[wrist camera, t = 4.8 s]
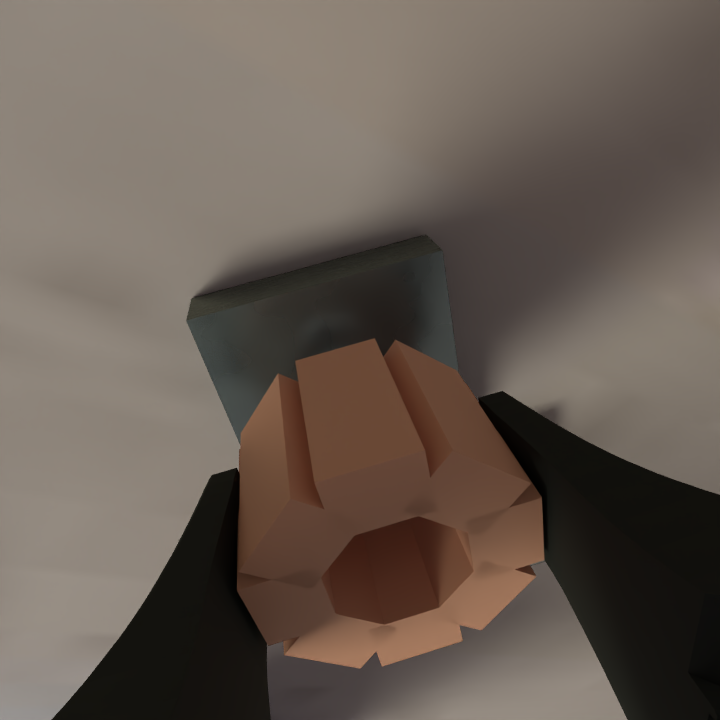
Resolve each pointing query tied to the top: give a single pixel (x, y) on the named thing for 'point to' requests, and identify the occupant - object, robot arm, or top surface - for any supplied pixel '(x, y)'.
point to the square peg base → (322, 318)
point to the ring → (379, 509)
